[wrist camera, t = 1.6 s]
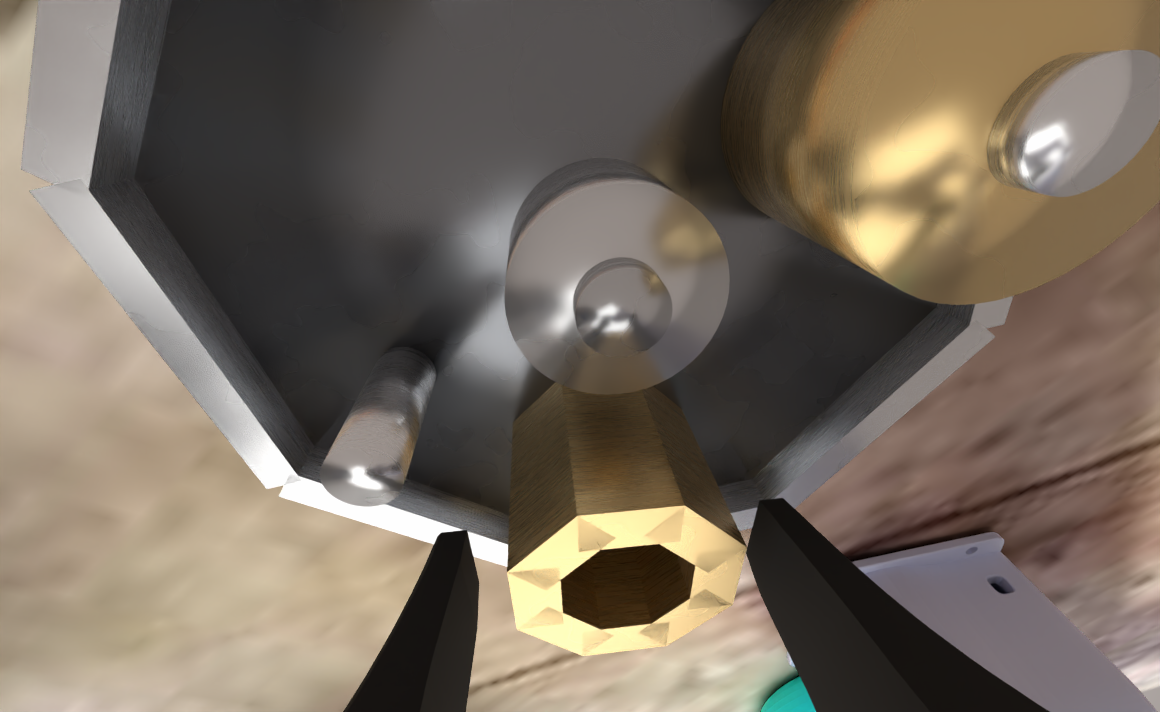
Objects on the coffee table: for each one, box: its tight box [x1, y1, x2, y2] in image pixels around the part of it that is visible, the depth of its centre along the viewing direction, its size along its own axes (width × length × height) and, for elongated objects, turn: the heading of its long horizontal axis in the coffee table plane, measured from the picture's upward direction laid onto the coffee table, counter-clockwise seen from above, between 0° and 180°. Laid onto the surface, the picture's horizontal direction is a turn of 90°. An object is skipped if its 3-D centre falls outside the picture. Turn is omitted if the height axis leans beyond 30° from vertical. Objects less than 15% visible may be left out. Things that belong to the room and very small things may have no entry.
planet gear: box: [507, 382, 747, 656], centre depth 13 cm, size 5×5×5 cm
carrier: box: [21, 0, 1160, 567], centre depth 10 cm, size 21×21×7 cm
